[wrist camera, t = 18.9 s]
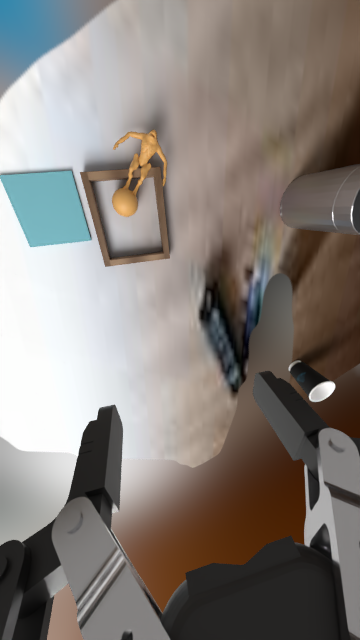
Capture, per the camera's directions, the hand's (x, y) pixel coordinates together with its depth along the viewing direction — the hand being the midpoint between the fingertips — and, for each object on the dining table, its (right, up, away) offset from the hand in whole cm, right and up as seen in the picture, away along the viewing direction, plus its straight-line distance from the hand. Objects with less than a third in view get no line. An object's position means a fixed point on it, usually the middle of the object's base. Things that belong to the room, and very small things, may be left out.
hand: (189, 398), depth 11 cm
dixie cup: (+37, -10, +53) cm, 65 cm away
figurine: (-11, +23, +23) cm, 34 cm away
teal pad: (-22, +22, +21) cm, 38 cm away
